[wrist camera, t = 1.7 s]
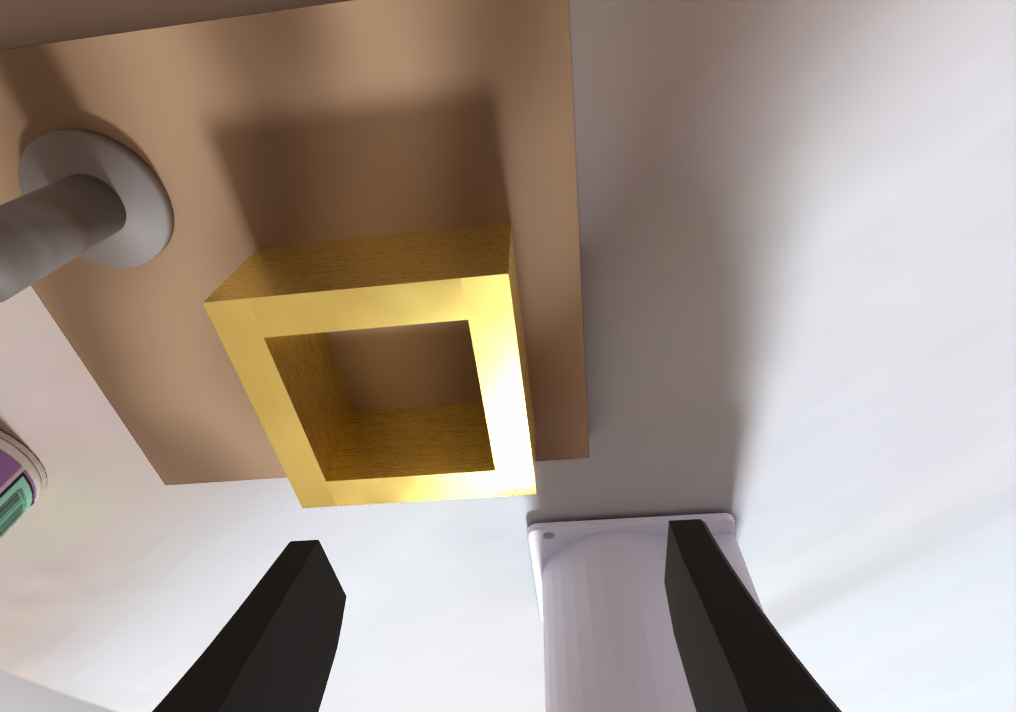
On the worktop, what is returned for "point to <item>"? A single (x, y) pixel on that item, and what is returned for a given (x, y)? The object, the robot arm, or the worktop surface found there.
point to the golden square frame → (371, 304)
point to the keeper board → (290, 201)
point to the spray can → (17, 481)
